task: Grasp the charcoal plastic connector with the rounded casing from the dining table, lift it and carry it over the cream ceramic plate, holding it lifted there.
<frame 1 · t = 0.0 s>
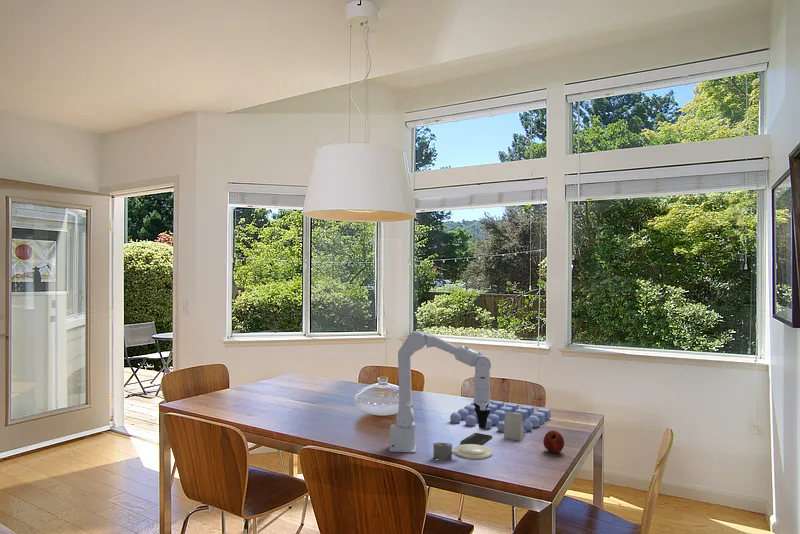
hand: (481, 425, 189), 10 cm above the table, tool pointing down, fingers open, 7 cm apart
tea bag: (513, 438, 207), on the table
phone: (476, 442, 203), on the table
apple: (553, 452, 191), on the table
plate: (473, 452, 189), on the table
connector: (442, 458, 182), on the table
blocks: (500, 422, 232), on the table
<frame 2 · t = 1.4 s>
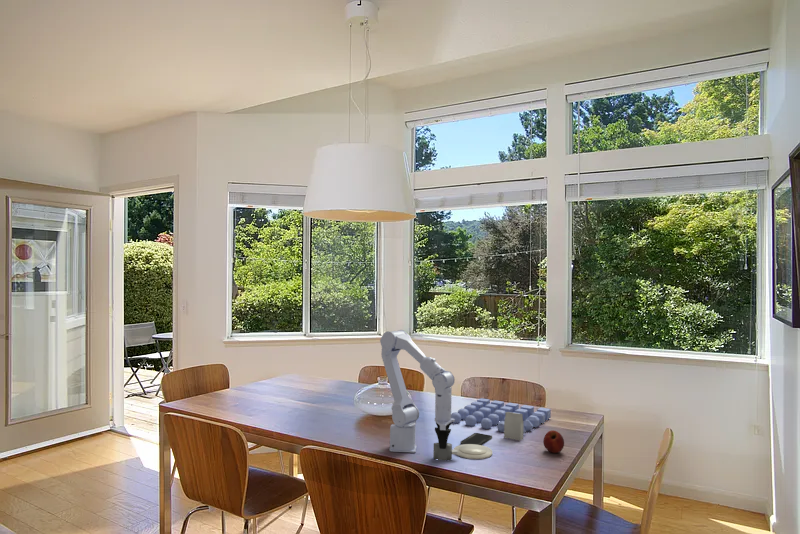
hand: (442, 445, 182), 5 cm above the table, tool pointing down, fingers open, 7 cm apart
nothing on the table moved.
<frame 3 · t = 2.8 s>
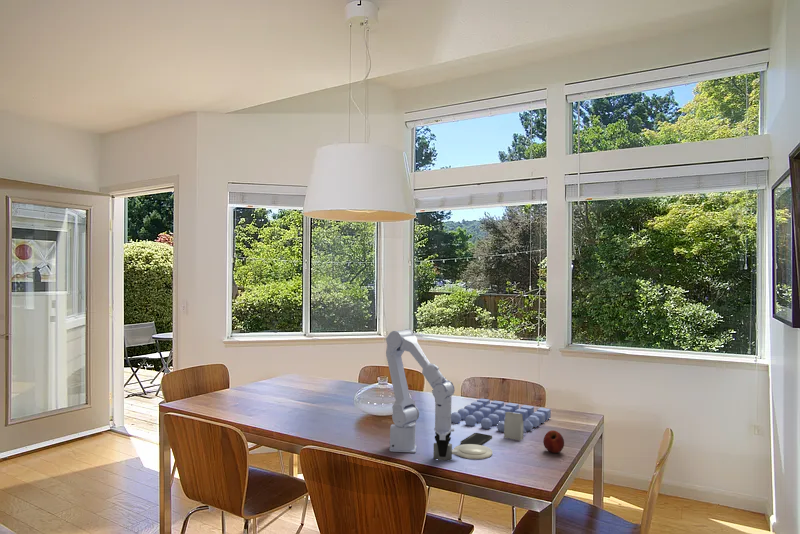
hand: (442, 454, 182), 1 cm above the table, tool pointing down, fingers closed on connector, 3 cm apart
connector: (442, 458, 182), on the table, touching gripper
everything else where it was.
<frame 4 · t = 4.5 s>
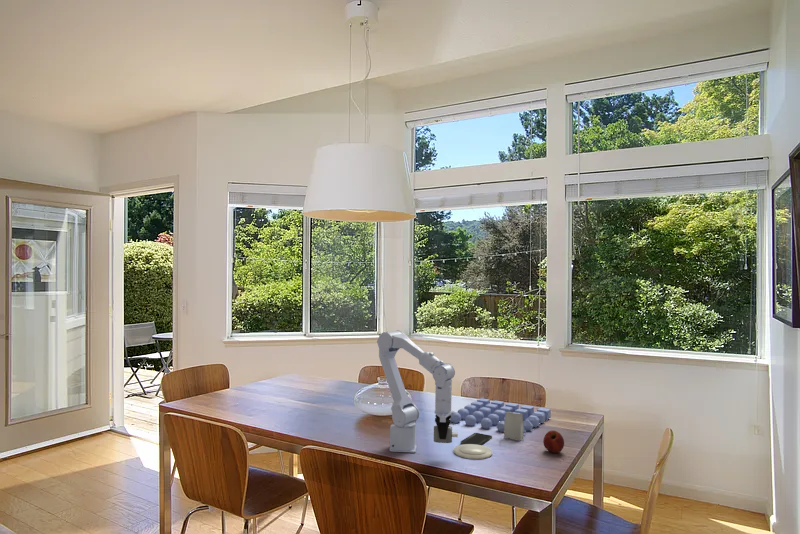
hand: (442, 437, 182), 7 cm above the table, tool pointing down, fingers closed on connector, 3 cm apart
connector: (442, 441, 182), point 6 cm above the table, touching gripper
everything else where it was.
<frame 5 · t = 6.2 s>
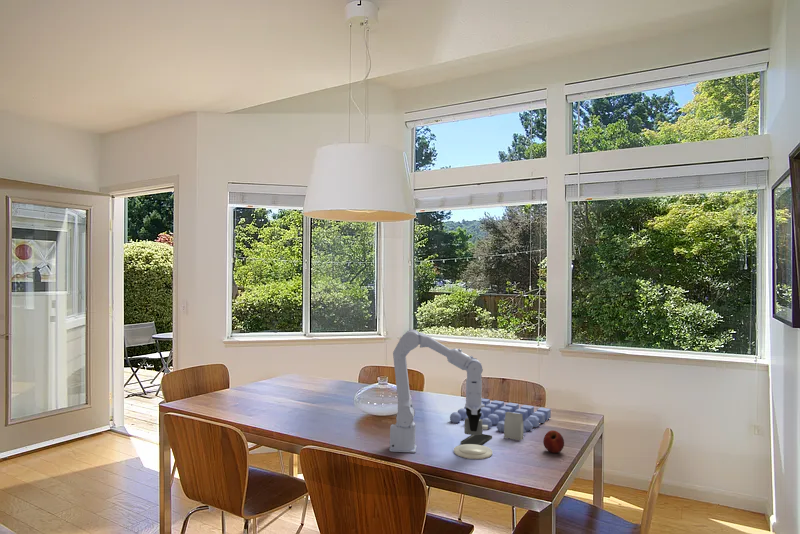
hand: (473, 429, 189), 8 cm above the table, tool pointing down, fingers closed on connector, 3 cm apart
connector: (473, 433, 189), point 7 cm above the table, touching gripper
everything else where it was.
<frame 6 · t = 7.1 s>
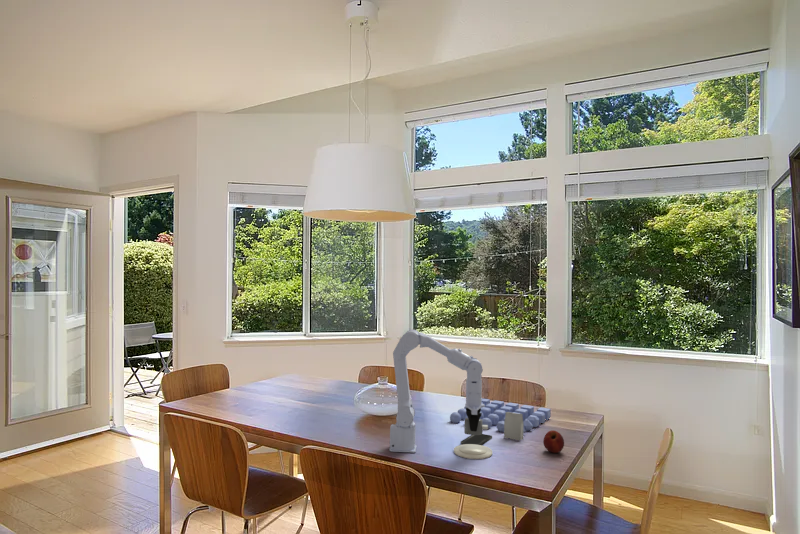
hand: (473, 429, 189), 8 cm above the table, tool pointing down, fingers closed on connector, 3 cm apart
connector: (473, 433, 189), point 7 cm above the table, touching gripper
everything else where it was.
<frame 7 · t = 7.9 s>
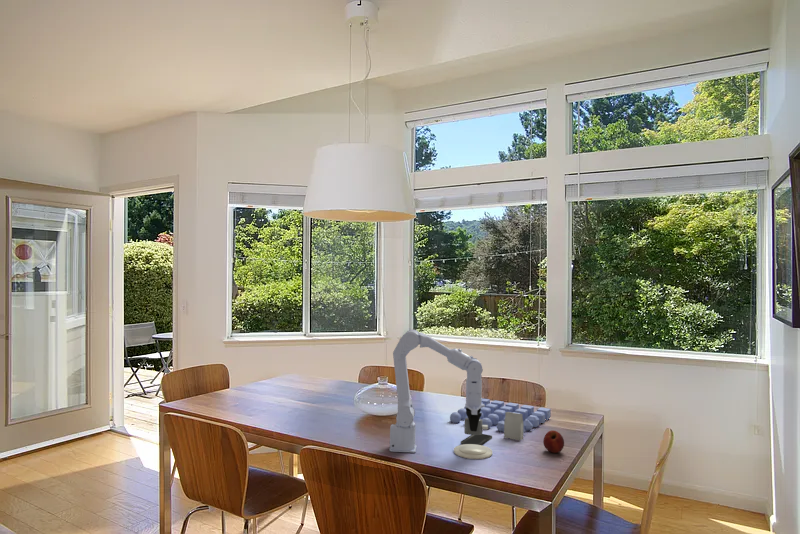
hand: (473, 429, 189), 8 cm above the table, tool pointing down, fingers closed on connector, 3 cm apart
connector: (473, 433, 189), point 7 cm above the table, touching gripper
everything else where it was.
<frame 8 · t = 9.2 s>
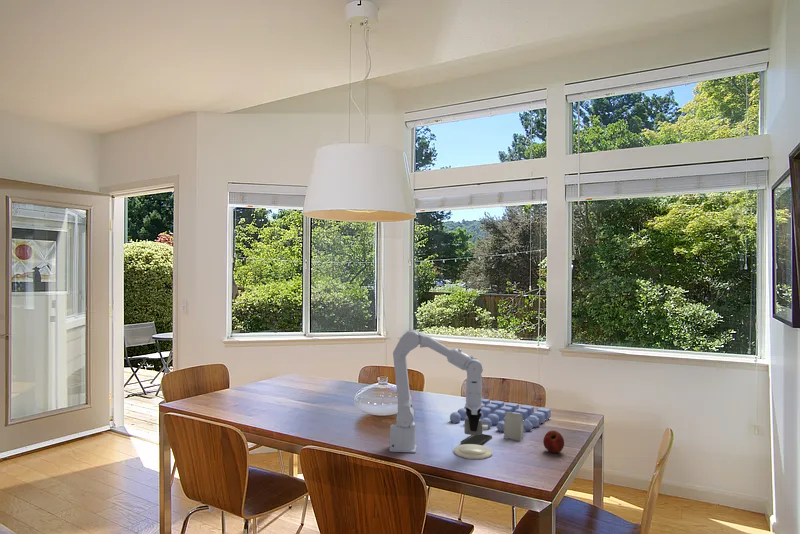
hand: (473, 429, 189), 8 cm above the table, tool pointing down, fingers closed on connector, 3 cm apart
connector: (473, 433, 189), point 7 cm above the table, touching gripper
everything else where it was.
at the end: the gripper is holding connector; connector point 7.0 cm above the table; connector 0.0 cm from the plate (horizontally) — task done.
